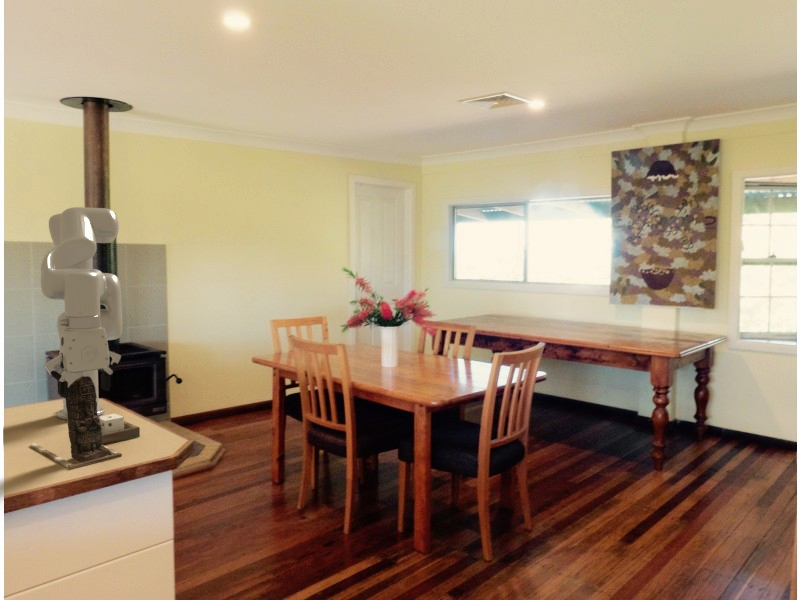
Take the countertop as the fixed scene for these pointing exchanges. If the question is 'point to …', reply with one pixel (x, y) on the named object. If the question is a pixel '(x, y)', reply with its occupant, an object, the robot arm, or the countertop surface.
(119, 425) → the die
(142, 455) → the countertop surface
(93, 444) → the statue
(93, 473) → the countertop surface
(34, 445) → the brown rectangular frame
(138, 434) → the dice tray
